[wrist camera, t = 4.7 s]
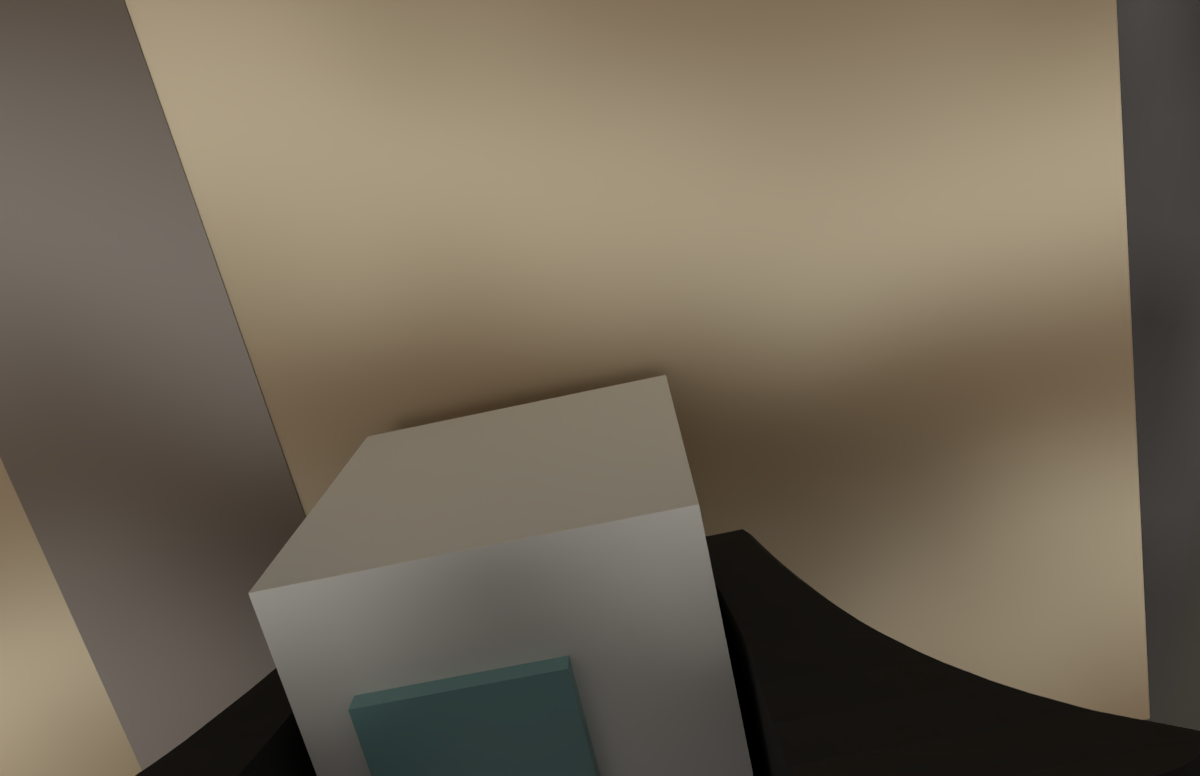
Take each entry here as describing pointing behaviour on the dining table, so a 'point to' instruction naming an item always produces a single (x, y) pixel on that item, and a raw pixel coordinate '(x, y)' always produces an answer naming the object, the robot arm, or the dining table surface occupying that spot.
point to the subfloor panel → (558, 310)
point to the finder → (510, 601)
